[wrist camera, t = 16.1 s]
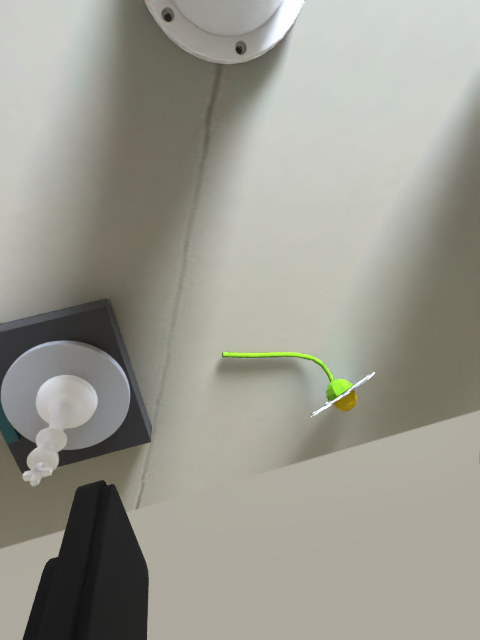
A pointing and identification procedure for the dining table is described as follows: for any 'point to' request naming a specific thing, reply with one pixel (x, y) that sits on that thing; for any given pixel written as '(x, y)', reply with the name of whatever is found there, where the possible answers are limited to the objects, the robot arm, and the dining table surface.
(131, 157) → the dining table surface
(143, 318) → the dining table surface
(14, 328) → the scale
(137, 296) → the dining table surface
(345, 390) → the decorative flower
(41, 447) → the chess piece
